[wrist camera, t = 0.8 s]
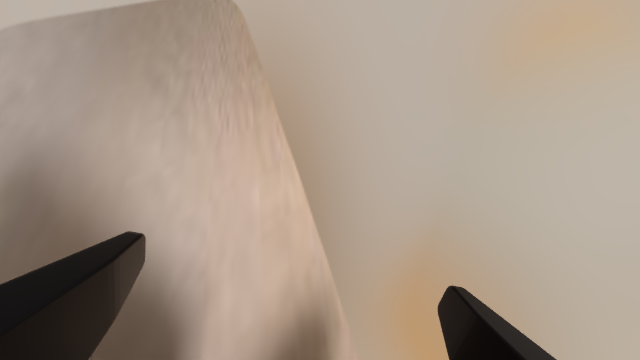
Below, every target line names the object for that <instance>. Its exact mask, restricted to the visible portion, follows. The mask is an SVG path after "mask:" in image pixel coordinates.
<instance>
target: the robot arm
mask: <svg viewBox="0 0 640 360" xmlns="http://www.w3.org/2000/svg"><path fill="white" fill-rule="evenodd" d="M145 241H146V239H145V235H144V234H142V233H136V232H125V233H123V234H120V235H118V236H116V237H113V238H111V239H108V240H106V241H104V242H101V243H99V244H96V245H94V246H92V247H89V248H87V249H84V250H82V251H80V252H77V253H75V254H72V255H70V256H68V257H65V258H63V259H60V260H58V261H56V262H53V263H51V264H48V265H46V266H44V267H41V268H39V269H36V270H34V271H32V272H29V273H27V274H25V275H22V276H20V277H17V278H15V279H13V280H10V281H8V282H5V283H3V284H1V285H0V360H89V358H90V357H91V355H92V354H93V352H94V351H95V349H96V348H97V346H98V345H99V343H100V342H101V340H102V339H103V337H104V336H105V334H106V332H107V331H108V329H109V328H110V326H111V325H112V323H113V322H114V320H115V318H116V317H117V315H118V313H119V311H120V309H121V308H122V306H123V304H124V302H125V300H126V298H127V296H128V294H129V292H130V290H131V288H132V286H133V284H134V283H135V281H136V279H137V277H138V275H139V273H140V271H141V269H142V267H143V265H144V262H145ZM438 315H439V319H440V323H441V328H442V332H443V336H444V340H445V344H446V348H447V352H448V356H449V360H556V359H555V358H554V357H552V356H551V355H549V354H548V353H547V352H546V351H545V350H543V349H542V348H541V347H539V346H538V345H537V344H536V343H534V342H533V341H532V340H530V339H529V338H528V337H526V336H525V335H524V334H522V333H521V332H520V331H519V330H517V329H516V328H515V327H513V326H512V325H511V324H510V323H508V322H507V321H506V320H504V319H503V318H502V317H500V316H499V315H498V314H496V313H495V312H494V311H493V310H491V309H490V308H489V307H487V306H486V305H485V304H484V303H482V302H481V301H480V300H478V299H477V298H476V297H475V296H473V295H472V294H471V293H469V292H468V291H467V290H466V289H464V288H462V287H456V286H449V287H448V288H447V289H446V291H445V293H444V295H443V297H442V299H441V301H440V303H439V305H438Z"/></svg>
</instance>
